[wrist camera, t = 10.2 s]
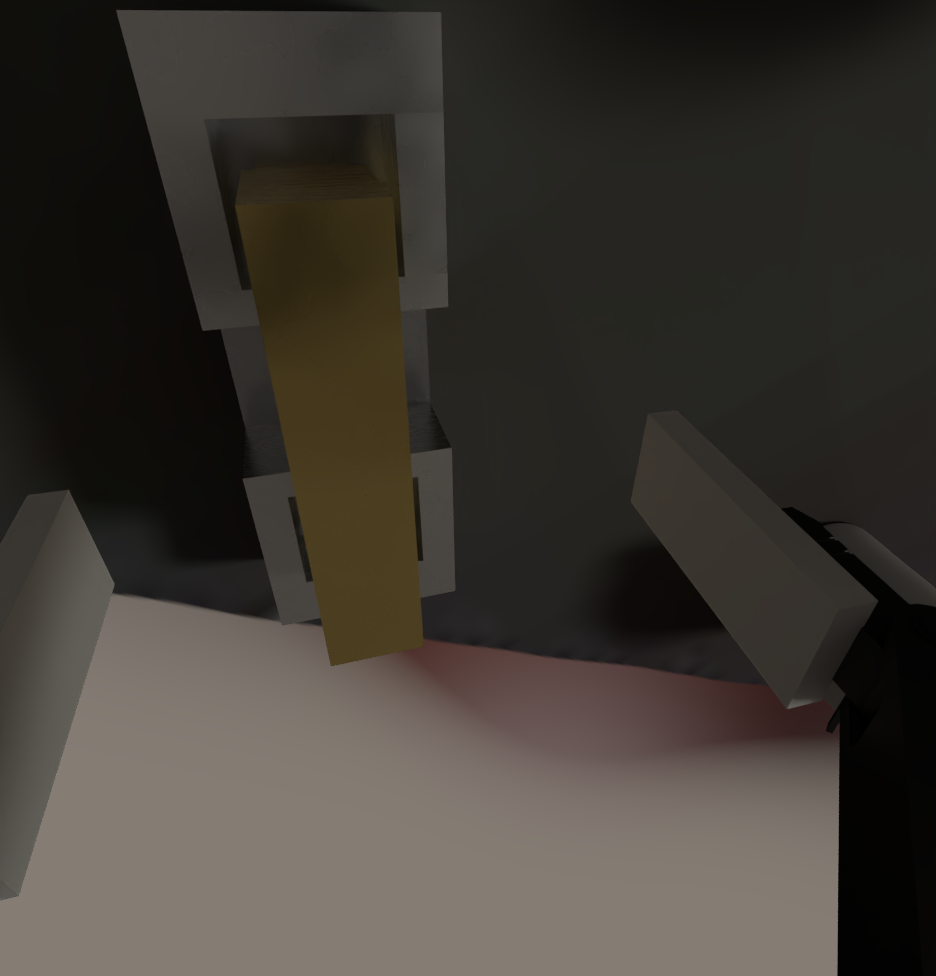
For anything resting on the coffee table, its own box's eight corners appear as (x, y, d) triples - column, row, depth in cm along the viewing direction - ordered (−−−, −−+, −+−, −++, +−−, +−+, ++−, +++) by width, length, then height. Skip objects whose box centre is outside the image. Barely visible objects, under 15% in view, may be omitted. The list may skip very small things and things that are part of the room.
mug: (889, 543, 39) (1064, 681, 31) (793, 633, 43) (927, 780, 34) (789, 483, 33) (972, 633, 25) (685, 592, 37) (816, 759, 28)
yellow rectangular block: (243, 155, 17) (235, 206, 11) (352, 150, 18) (392, 196, 12) (315, 530, 25) (331, 666, 19) (388, 517, 25) (423, 646, 20)
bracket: (145, 18, 16) (116, 9, 13) (408, 18, 17) (440, 11, 14) (279, 558, 27) (282, 625, 24) (433, 531, 29) (455, 590, 25)
